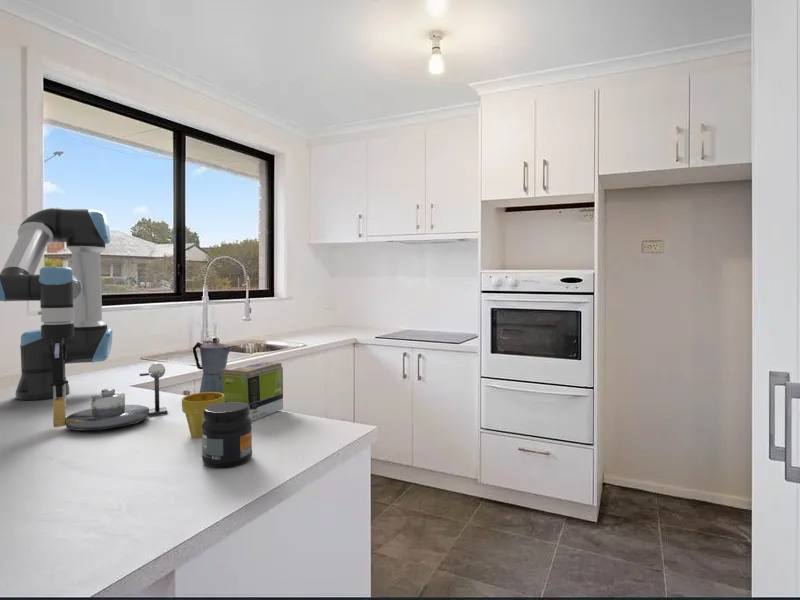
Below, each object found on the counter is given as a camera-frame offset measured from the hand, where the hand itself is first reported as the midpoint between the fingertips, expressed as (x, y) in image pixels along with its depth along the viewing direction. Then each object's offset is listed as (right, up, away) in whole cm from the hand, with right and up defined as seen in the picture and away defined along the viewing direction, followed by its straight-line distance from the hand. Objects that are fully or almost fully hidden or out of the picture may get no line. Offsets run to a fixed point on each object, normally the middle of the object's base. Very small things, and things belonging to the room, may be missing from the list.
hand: (59, 408), depth 135 cm
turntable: (+12, -3, 0) cm, 13 cm away
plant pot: (+43, -5, -8) cm, 44 cm away
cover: (+13, -2, +1) cm, 13 cm away
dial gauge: (+20, -4, +11) cm, 23 cm away
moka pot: (+29, -3, +35) cm, 45 cm away
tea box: (+51, -4, +10) cm, 52 cm away
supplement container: (+56, -6, -27) cm, 62 cm away
